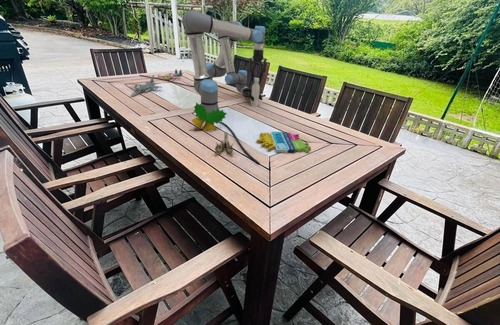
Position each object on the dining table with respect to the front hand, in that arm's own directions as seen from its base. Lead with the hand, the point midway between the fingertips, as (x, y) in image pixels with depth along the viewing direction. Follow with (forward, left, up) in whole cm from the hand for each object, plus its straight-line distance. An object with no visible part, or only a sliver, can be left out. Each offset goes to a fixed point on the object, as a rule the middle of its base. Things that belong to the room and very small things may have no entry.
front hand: (256, 81), depth 205 cm
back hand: (-5, -1, -13) cm, 14 cm away
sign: (-73, +5, -19) cm, 76 cm away
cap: (0, 0, +2) cm, 2 cm away
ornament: (-47, +43, -19) cm, 67 cm away
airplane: (+47, +87, -19) cm, 101 cm away
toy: (+101, +63, -19) cm, 120 cm away
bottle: (0, 0, -19) cm, 19 cm away
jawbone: (-79, +40, -19) cm, 91 cm away
